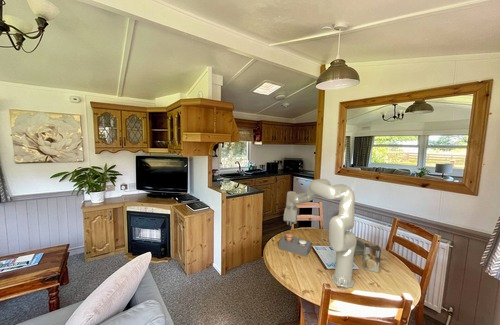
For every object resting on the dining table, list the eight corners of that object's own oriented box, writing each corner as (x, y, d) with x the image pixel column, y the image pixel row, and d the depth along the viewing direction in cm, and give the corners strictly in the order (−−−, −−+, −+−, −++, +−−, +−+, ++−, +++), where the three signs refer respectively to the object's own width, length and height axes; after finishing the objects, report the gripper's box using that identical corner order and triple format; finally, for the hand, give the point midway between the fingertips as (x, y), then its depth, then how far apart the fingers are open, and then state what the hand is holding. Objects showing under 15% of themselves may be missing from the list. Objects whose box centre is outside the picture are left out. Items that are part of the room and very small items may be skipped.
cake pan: (358, 242, 181) (359, 237, 180) (372, 257, 157) (372, 252, 156) (329, 240, 183) (329, 235, 183) (338, 255, 159) (339, 249, 158)
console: (306, 256, 154) (307, 249, 154) (279, 248, 165) (279, 241, 164) (311, 248, 166) (311, 241, 166) (285, 241, 177) (285, 234, 176)
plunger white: (304, 251, 159) (305, 243, 158) (297, 249, 162) (298, 241, 161) (306, 248, 164) (307, 240, 163) (299, 246, 167) (300, 239, 166)
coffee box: (377, 267, 144) (379, 245, 142) (379, 272, 138) (381, 250, 136) (362, 264, 147) (364, 242, 146) (363, 269, 141) (365, 246, 140)
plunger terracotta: (291, 244, 164) (291, 236, 163) (284, 242, 167) (284, 234, 166) (293, 241, 169) (293, 234, 168) (286, 239, 172) (287, 232, 171)
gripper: (301, 207, 165) (299, 229, 167) (283, 204, 172) (282, 225, 174) (298, 210, 158) (297, 233, 160) (280, 206, 165) (278, 228, 168)
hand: (289, 229), depth 167 cm, fingers closed
